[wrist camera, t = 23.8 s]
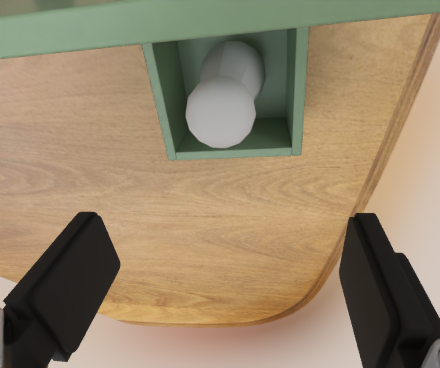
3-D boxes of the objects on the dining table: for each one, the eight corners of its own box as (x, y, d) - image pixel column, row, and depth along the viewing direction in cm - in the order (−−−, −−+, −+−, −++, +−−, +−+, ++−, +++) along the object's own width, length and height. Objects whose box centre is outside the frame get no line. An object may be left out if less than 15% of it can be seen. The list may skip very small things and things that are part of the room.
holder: (292, 120, 30) (301, 155, 24) (186, 126, 32) (168, 160, 26) (298, -57, 22) (315, -77, 16) (157, -36, 24) (120, -47, 18)
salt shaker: (277, 56, 26) (289, 101, 15) (247, 110, 29) (240, 178, 19) (220, 24, 25) (191, 48, 14) (195, 83, 28) (156, 138, 18)
